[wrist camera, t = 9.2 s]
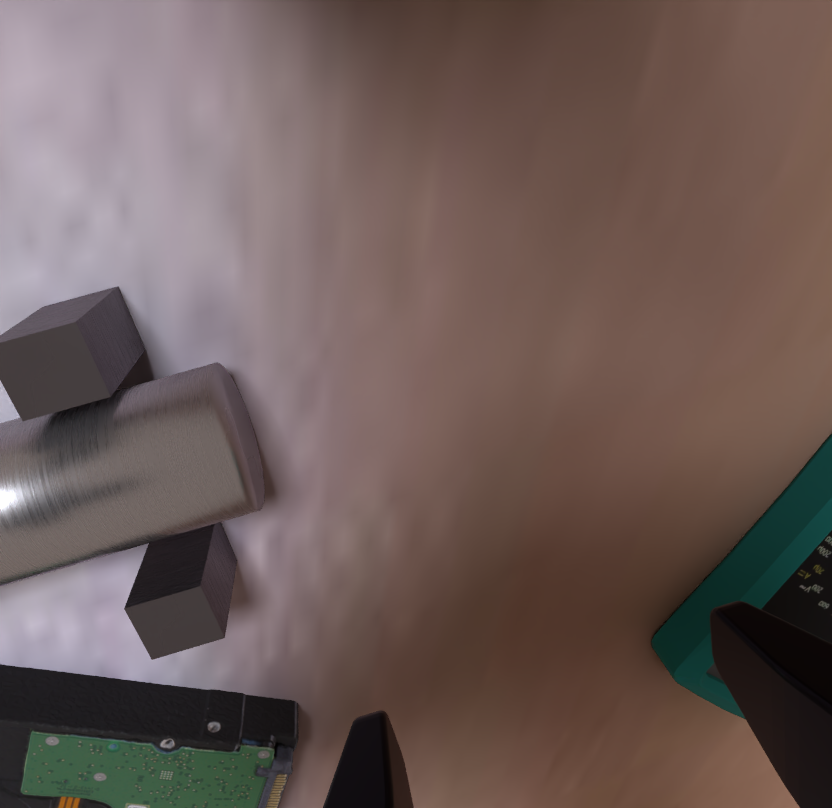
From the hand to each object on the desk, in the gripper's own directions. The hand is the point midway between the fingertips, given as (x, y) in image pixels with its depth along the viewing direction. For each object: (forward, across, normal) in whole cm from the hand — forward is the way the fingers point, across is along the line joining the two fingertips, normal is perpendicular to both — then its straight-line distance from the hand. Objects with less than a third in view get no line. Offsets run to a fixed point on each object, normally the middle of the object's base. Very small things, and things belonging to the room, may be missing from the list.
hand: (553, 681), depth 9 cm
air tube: (+12, +13, 0) cm, 18 cm away
